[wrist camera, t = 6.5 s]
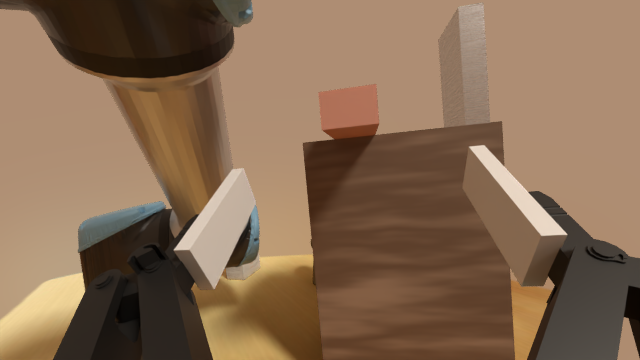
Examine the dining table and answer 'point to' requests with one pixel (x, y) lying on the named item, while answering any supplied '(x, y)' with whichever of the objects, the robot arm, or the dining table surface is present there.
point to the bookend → (464, 68)
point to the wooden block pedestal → (406, 248)
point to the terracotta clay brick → (349, 112)
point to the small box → (243, 270)
